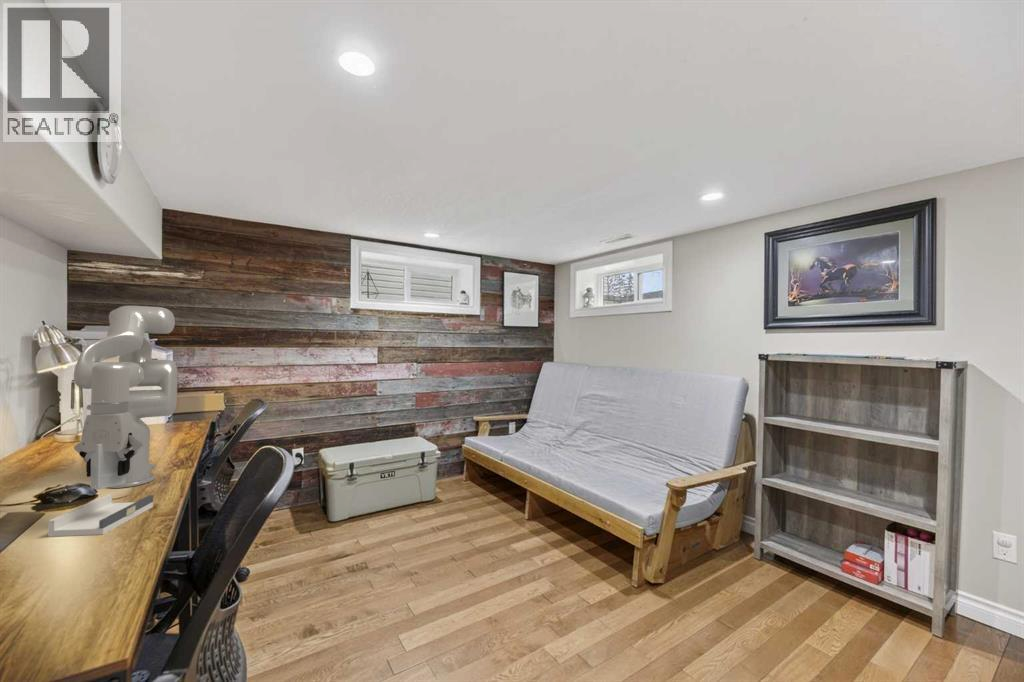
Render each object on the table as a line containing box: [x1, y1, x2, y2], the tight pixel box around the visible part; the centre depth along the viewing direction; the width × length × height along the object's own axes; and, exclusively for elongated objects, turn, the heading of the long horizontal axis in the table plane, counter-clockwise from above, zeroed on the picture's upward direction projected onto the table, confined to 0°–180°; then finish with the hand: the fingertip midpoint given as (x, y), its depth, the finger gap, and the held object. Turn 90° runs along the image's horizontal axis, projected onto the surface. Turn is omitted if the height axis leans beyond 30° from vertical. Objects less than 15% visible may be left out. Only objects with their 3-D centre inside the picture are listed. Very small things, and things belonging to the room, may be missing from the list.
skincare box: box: [89, 444, 126, 491], centre depth 114 cm, size 6×4×12 cm
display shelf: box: [47, 494, 154, 538], centre depth 114 cm, size 18×12×4 cm, turn 9°
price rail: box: [99, 494, 154, 529], centre depth 114 cm, size 18×1×2 cm, turn 9°
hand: (108, 474), depth 114 cm, fingers closed on skincare box, 6 cm apart
